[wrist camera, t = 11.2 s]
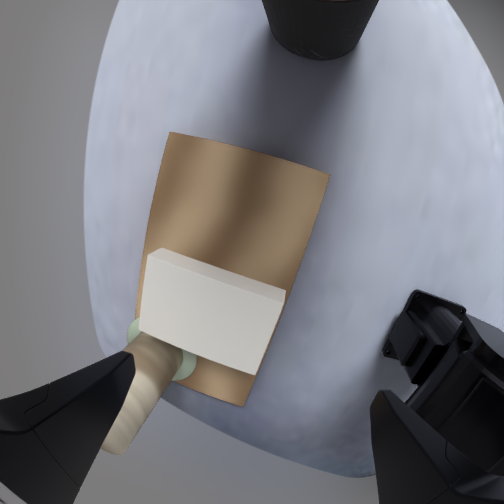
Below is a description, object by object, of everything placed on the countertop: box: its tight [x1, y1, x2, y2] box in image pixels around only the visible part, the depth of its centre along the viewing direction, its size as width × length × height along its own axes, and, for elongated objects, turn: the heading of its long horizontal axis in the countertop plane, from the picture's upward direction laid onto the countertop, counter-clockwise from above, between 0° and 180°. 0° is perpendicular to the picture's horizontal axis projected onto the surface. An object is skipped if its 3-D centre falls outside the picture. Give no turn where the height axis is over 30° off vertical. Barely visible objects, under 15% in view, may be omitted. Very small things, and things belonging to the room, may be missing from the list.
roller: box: [100, 331, 183, 455], centre depth 18 cm, size 5×5×11 cm
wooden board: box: [127, 132, 330, 407], centre depth 22 cm, size 13×22×2 cm, turn 164°
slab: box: [139, 248, 286, 375], centre depth 19 cm, size 9×6×4 cm, turn 74°
